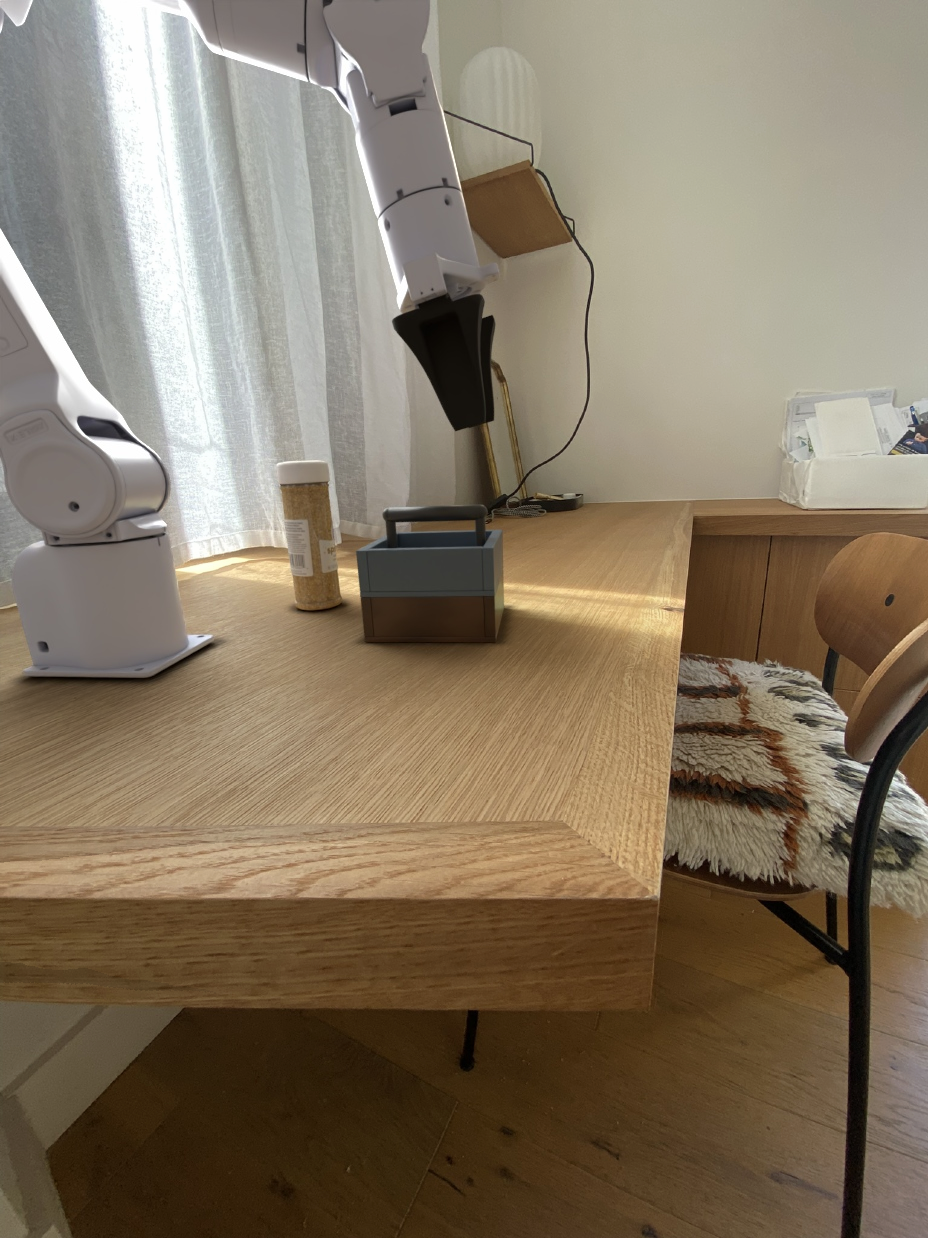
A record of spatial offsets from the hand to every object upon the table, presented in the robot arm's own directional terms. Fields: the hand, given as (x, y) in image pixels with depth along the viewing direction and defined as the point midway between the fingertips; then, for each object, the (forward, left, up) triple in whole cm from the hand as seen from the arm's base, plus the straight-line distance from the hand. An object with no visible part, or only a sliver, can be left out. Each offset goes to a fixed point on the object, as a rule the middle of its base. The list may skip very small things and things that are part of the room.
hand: (476, 425), depth 40 cm
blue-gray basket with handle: (-4, +2, -12) cm, 12 cm away
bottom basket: (-4, +2, -15) cm, 16 cm away
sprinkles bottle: (-17, +8, -15) cm, 24 cm away
